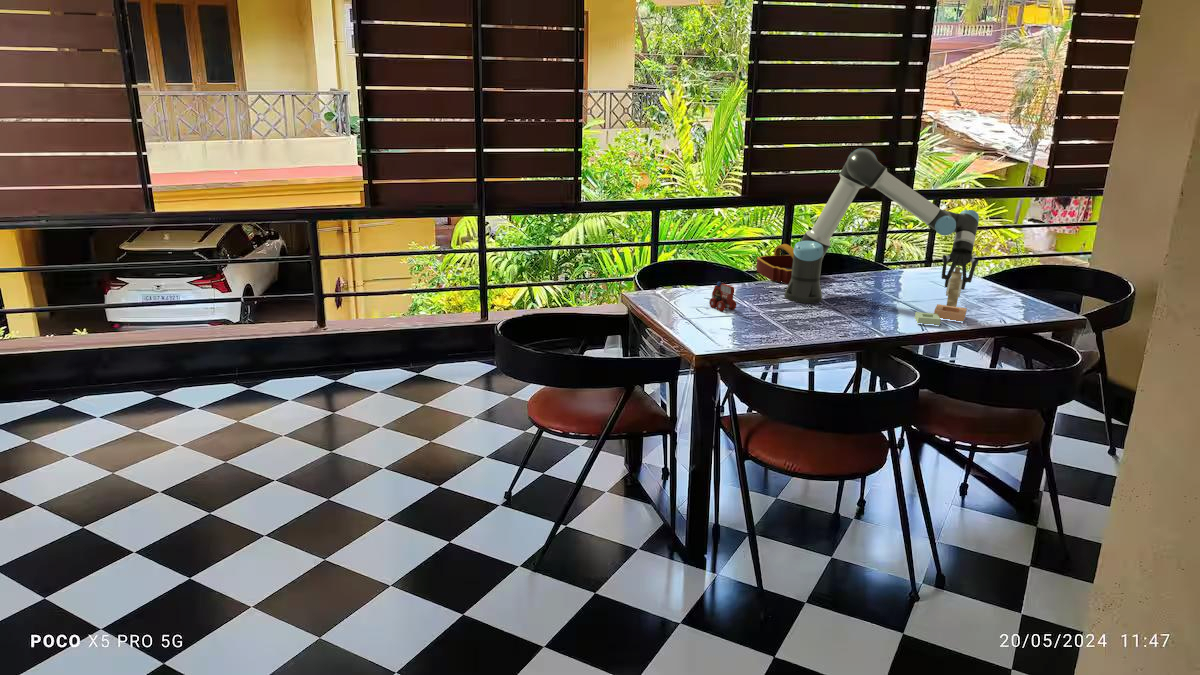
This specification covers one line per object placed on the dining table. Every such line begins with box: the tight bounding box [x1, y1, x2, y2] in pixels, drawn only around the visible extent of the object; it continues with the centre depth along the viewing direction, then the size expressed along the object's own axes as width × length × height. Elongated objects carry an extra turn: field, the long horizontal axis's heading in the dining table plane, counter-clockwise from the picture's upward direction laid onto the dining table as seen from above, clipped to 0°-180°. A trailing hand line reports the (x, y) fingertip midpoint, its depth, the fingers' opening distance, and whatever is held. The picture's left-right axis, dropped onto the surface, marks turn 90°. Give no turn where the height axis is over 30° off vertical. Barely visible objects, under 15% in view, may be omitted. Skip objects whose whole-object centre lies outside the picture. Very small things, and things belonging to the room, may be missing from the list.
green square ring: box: [914, 311, 942, 325], centre depth 323 cm, size 8×8×3 cm
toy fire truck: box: [709, 281, 737, 312], centre depth 331 cm, size 7×12×10 cm, turn 27°
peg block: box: [946, 266, 963, 307], centre depth 328 cm, size 4×4×15 cm
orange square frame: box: [933, 304, 968, 322], centre depth 331 cm, size 11×11×4 cm
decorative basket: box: [756, 243, 794, 285], centre depth 390 cm, size 34×29×15 cm
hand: (952, 294), depth 325 cm, fingers closed on peg block, 3 cm apart
